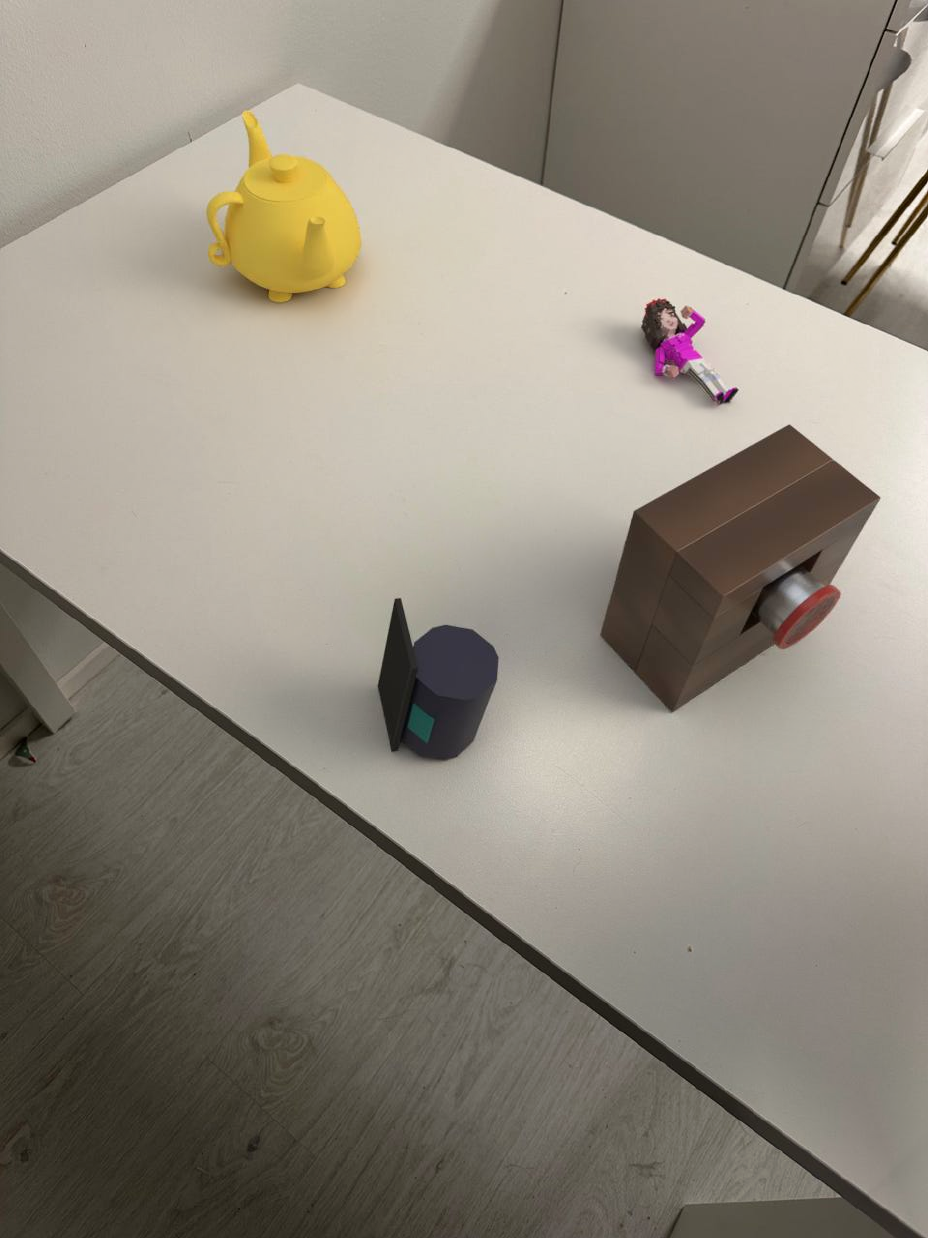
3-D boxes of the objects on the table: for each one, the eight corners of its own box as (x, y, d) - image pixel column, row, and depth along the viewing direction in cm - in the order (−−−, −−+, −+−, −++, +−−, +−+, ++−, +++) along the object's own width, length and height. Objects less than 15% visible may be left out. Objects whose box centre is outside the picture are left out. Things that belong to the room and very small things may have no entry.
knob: (823, 624, 64) (852, 578, 59) (769, 661, 62) (795, 616, 57) (780, 585, 65) (805, 537, 61) (726, 619, 64) (748, 573, 59)
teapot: (186, 236, 97) (160, 124, 87) (322, 204, 101) (311, 93, 91) (249, 354, 87) (227, 242, 77) (397, 313, 91) (394, 202, 81)
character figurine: (741, 401, 87) (663, 316, 91) (761, 362, 82) (677, 274, 86) (693, 425, 85) (615, 337, 89) (710, 386, 80) (628, 295, 85)
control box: (808, 621, 72) (881, 497, 60) (672, 713, 67) (723, 596, 55) (734, 553, 75) (789, 423, 64) (599, 634, 70) (633, 510, 59)
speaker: (362, 755, 64) (372, 670, 56) (377, 684, 67) (388, 595, 59) (473, 774, 64) (498, 693, 56) (482, 703, 68) (507, 617, 59)
